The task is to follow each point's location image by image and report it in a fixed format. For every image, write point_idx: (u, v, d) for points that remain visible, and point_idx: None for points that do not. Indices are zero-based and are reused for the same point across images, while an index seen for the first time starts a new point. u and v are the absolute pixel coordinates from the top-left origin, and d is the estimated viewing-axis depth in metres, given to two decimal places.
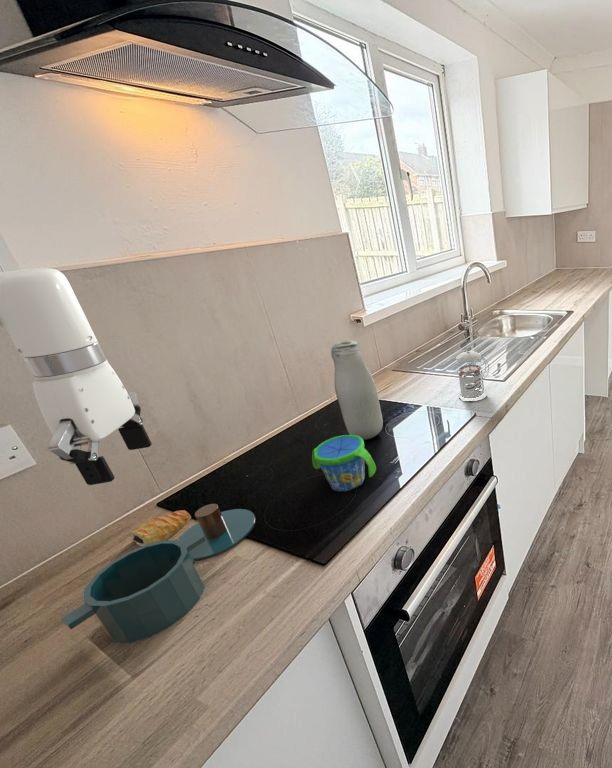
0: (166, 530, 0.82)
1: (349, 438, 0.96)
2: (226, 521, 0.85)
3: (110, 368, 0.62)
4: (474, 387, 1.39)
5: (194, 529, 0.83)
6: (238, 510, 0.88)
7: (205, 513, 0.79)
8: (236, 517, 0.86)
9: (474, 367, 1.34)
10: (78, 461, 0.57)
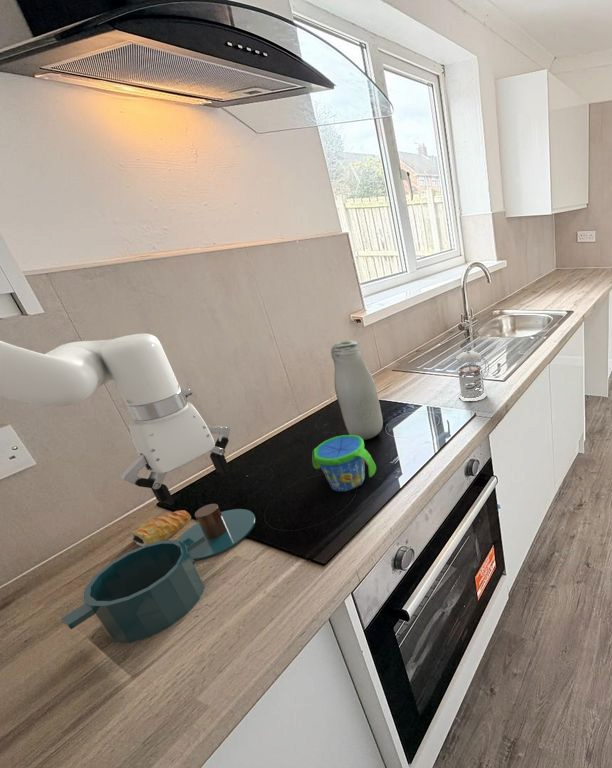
0: (166, 530, 0.82)
1: (349, 438, 0.96)
2: (226, 521, 0.85)
3: (192, 412, 0.74)
4: (474, 387, 1.39)
5: (194, 529, 0.83)
6: (238, 510, 0.88)
7: (205, 513, 0.79)
8: (236, 517, 0.86)
9: (474, 367, 1.34)
10: (147, 486, 0.71)
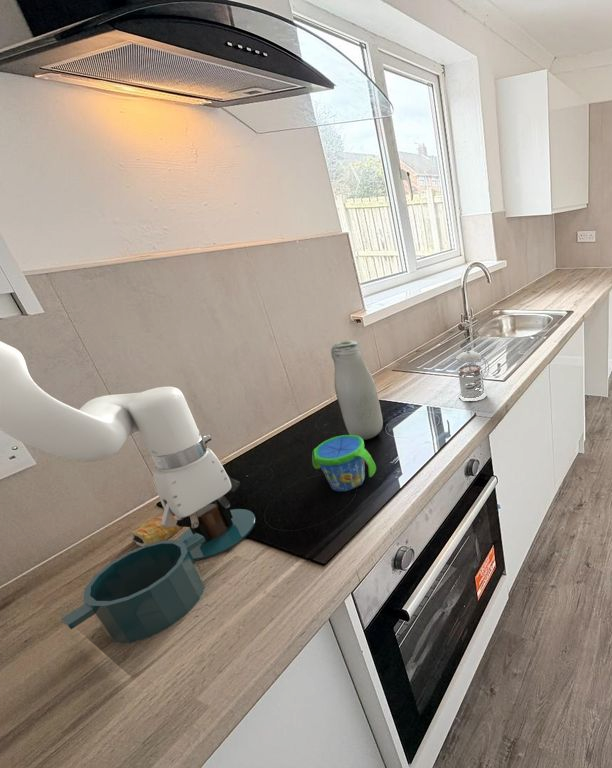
0: (166, 530, 0.82)
1: (349, 438, 0.96)
2: None
3: (212, 458, 0.78)
4: (474, 387, 1.39)
5: None
6: (238, 510, 0.88)
7: (205, 513, 0.79)
8: (236, 517, 0.86)
9: (474, 367, 1.34)
10: None
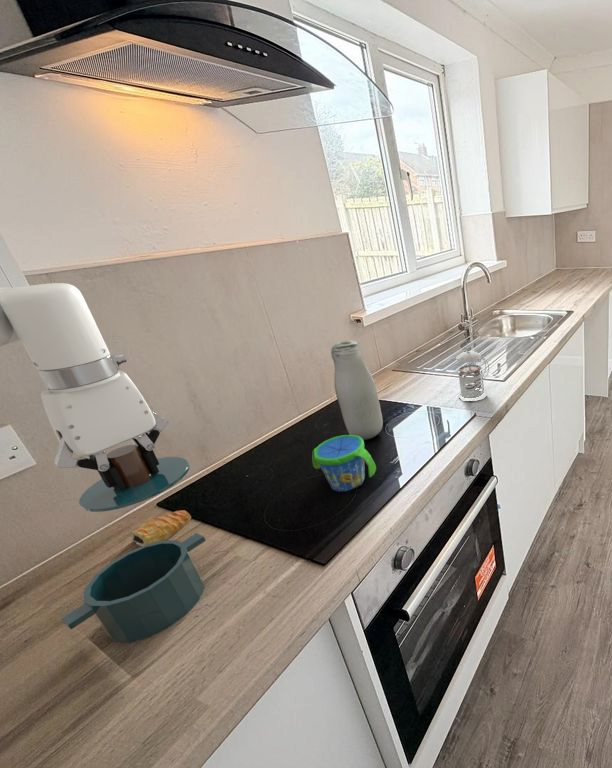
0: (166, 530, 0.82)
1: (349, 438, 0.96)
2: None
3: (126, 383, 0.61)
4: (474, 387, 1.39)
5: None
6: (170, 458, 0.72)
7: (119, 454, 0.63)
8: (165, 465, 0.70)
9: (474, 367, 1.34)
10: (92, 468, 0.61)
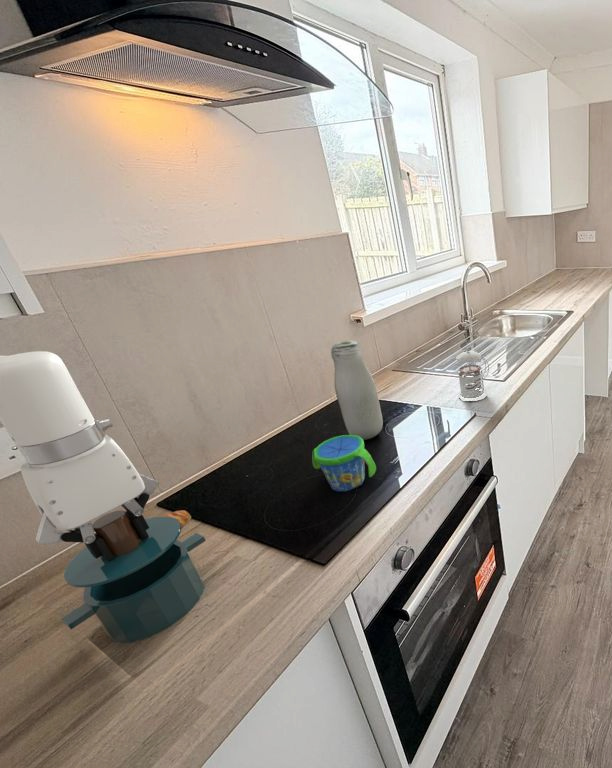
0: None
1: (349, 438, 0.96)
2: None
3: (112, 450, 0.58)
4: (474, 387, 1.39)
5: None
6: (161, 518, 0.69)
7: (105, 522, 0.60)
8: (156, 527, 0.66)
9: (474, 367, 1.34)
10: None
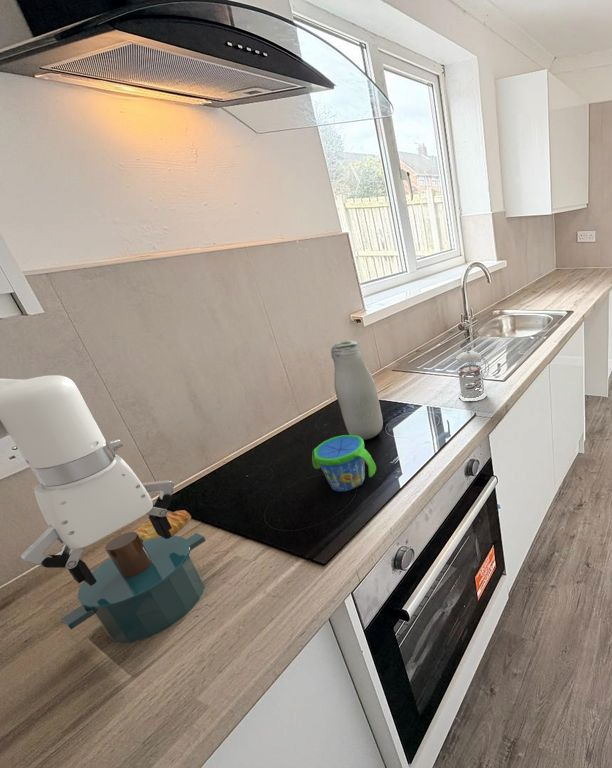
0: None
1: (349, 438, 0.96)
2: (152, 552, 0.67)
3: (122, 470, 0.60)
4: (474, 387, 1.39)
5: (110, 564, 0.65)
6: (171, 537, 0.70)
7: (118, 544, 0.61)
8: (166, 547, 0.68)
9: (474, 367, 1.34)
10: None
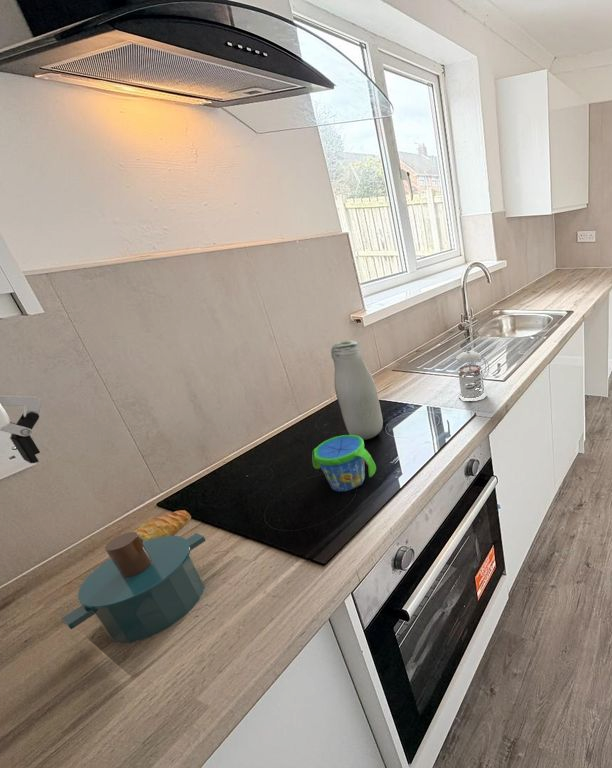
0: (166, 530, 0.82)
1: (349, 438, 0.96)
2: (152, 552, 0.67)
3: None
4: (474, 387, 1.39)
5: (110, 564, 0.65)
6: (171, 537, 0.70)
7: (118, 544, 0.61)
8: (166, 547, 0.68)
9: (474, 367, 1.34)
10: None
